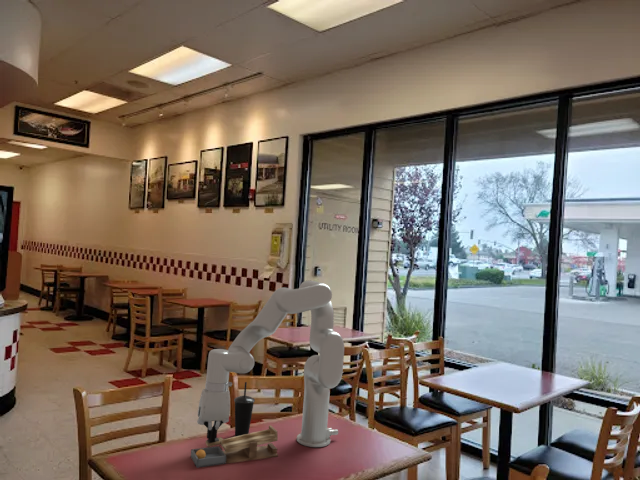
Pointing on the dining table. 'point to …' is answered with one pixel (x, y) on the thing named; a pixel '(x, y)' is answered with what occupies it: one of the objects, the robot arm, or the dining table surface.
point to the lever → (245, 440)
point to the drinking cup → (243, 413)
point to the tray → (209, 457)
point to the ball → (200, 454)
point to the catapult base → (251, 453)
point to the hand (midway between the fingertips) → (211, 440)
